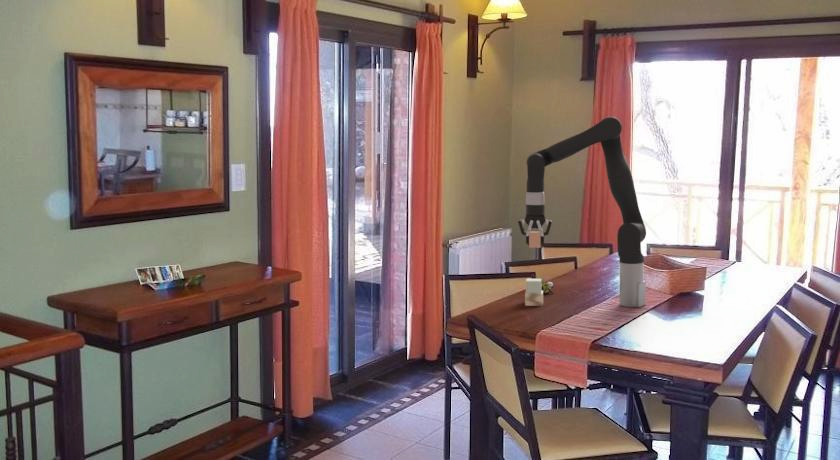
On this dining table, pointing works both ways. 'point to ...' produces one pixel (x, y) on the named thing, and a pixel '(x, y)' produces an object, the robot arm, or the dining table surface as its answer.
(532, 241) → the clay block
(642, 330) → the dining table surface
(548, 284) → the toy
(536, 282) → the tower top
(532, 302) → the tower base
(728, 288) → the dining table surface
